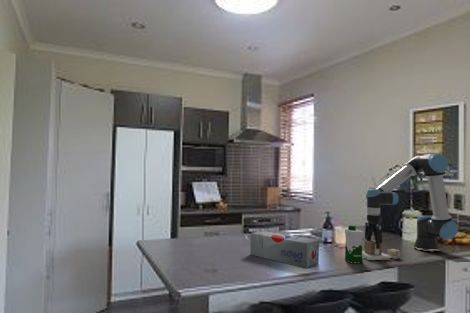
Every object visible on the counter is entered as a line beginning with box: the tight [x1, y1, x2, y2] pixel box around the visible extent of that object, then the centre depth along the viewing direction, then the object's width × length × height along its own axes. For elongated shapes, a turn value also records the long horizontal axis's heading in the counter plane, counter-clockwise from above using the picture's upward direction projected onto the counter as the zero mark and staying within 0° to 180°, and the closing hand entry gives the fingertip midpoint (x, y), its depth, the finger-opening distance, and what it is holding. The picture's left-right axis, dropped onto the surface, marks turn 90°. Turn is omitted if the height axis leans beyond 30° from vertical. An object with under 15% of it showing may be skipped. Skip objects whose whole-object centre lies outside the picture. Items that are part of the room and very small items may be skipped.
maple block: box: [386, 248, 401, 257], centre depth 216 cm, size 5×5×5 cm
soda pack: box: [250, 230, 320, 269], centre depth 207 cm, size 41×13×14 cm, turn 46°
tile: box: [362, 250, 391, 259], centre depth 216 cm, size 14×14×2 cm
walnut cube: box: [363, 239, 383, 255], centre depth 216 cm, size 7×7×7 cm
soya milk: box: [344, 225, 365, 264], centre depth 206 cm, size 9×9×20 cm
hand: (372, 252), depth 216 cm, fingers closed on walnut cube, 7 cm apart
